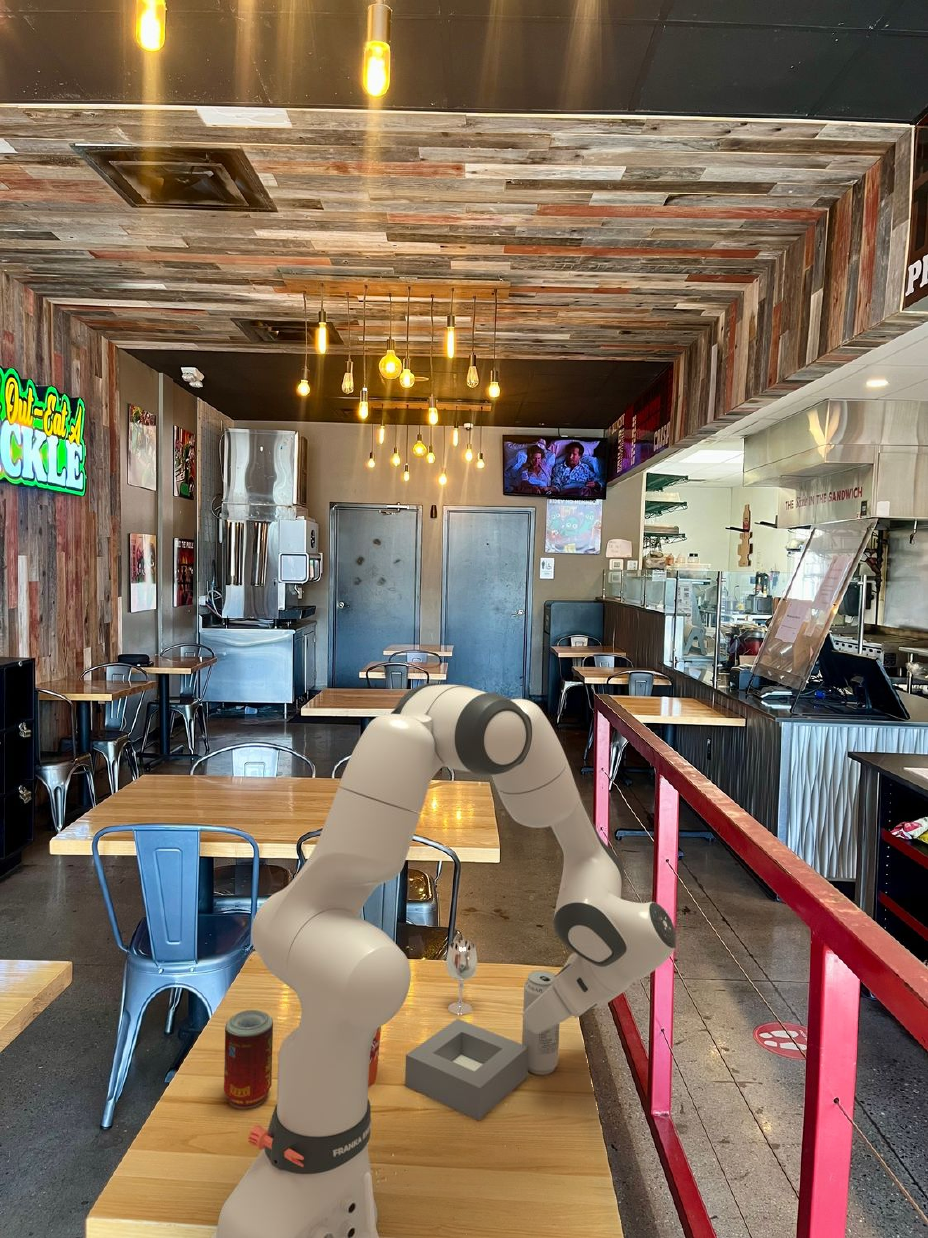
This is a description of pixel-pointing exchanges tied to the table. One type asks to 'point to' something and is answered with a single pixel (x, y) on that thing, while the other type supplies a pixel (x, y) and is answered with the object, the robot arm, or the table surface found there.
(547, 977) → the energy drink can
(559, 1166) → the table surface
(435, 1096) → the socket block
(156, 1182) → the table surface
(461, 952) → the wineglass
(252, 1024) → the soda can
